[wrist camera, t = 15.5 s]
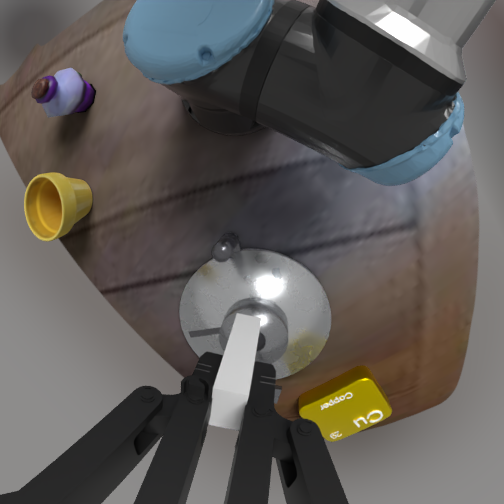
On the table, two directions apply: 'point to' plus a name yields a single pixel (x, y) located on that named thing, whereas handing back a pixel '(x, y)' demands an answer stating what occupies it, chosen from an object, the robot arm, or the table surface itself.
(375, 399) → the element tile
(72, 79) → the potion bottle
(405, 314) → the table surface
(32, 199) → the plant pot
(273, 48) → the robot arm
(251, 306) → the cover
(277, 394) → the stand
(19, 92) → the table surface
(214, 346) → the turntable
